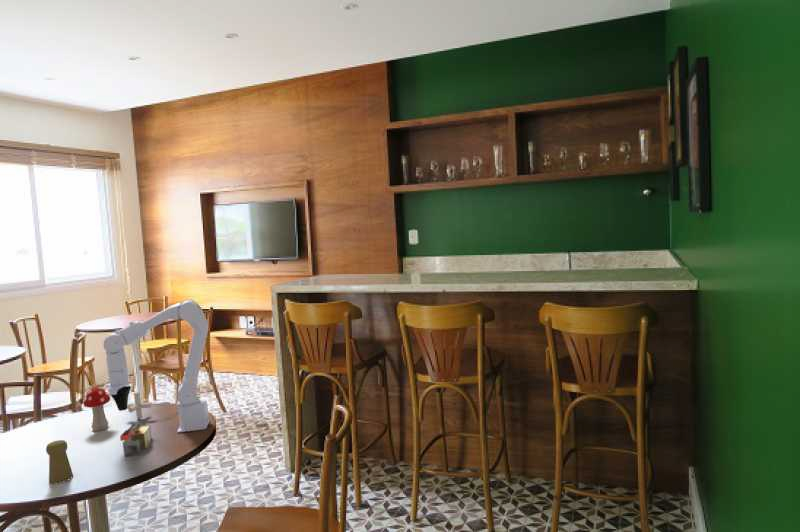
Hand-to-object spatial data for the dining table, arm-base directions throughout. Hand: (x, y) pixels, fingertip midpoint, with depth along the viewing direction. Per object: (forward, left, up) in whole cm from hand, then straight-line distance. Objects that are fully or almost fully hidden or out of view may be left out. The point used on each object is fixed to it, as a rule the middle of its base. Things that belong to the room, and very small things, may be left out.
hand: (122, 409), depth 189 cm
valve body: (-6, +8, -10) cm, 14 cm away
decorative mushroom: (+14, -17, -11) cm, 24 cm away
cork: (+10, +26, -11) cm, 30 cm away
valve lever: (-6, +13, -4) cm, 15 cm away
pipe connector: (+2, -22, -11) cm, 25 cm away
